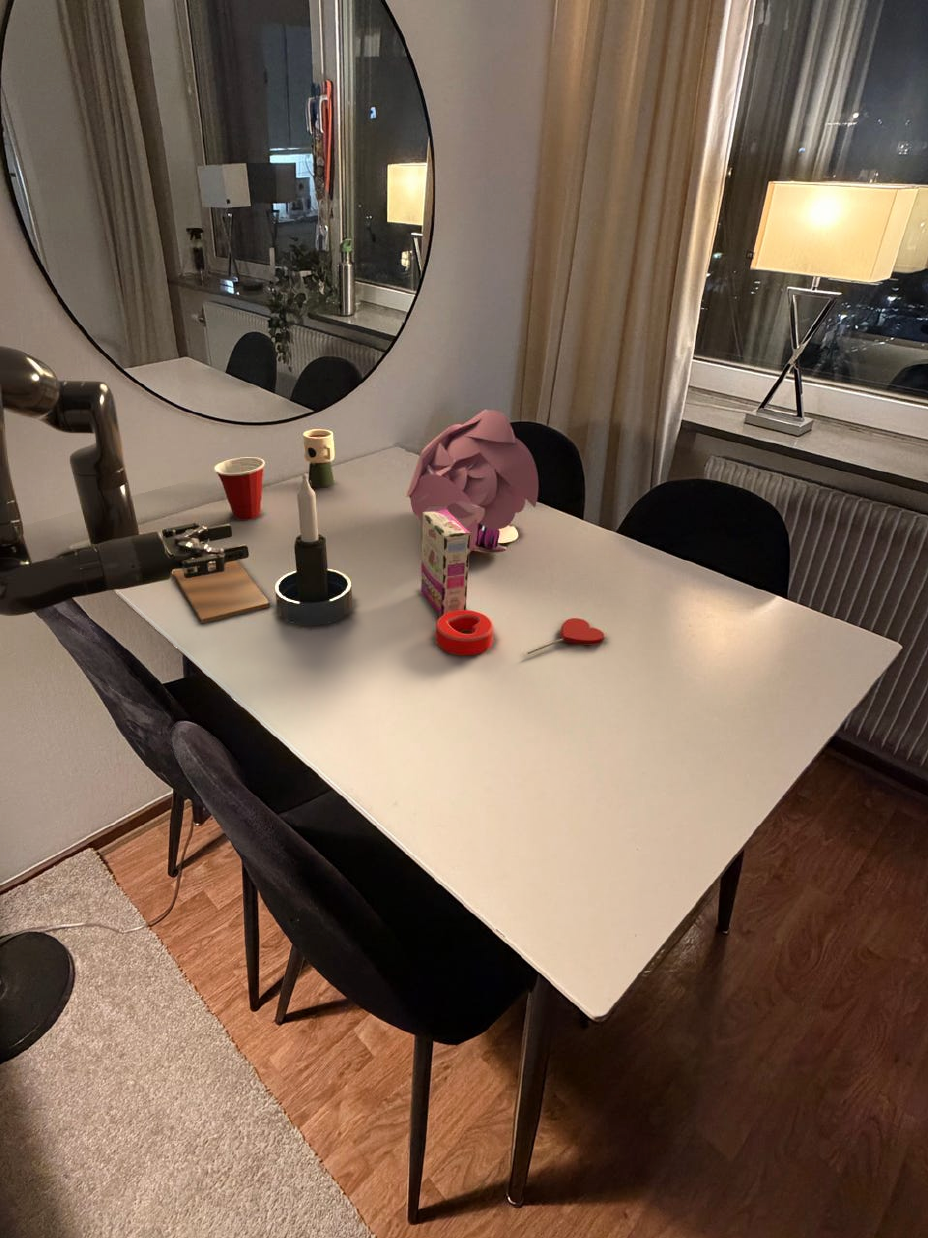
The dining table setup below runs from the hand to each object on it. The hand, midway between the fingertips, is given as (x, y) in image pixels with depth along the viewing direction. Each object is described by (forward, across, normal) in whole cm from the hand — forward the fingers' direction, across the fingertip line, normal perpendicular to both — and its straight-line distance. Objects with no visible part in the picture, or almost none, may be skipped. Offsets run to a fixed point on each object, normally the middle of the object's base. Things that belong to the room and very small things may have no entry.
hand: (239, 539), depth 119 cm
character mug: (+36, +54, +16) cm, 67 cm away
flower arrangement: (+54, +13, +16) cm, 58 cm away
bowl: (+12, 0, +16) cm, 20 cm away
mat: (-1, +14, +16) cm, 21 cm away
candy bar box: (+33, -10, +16) cm, 38 cm away
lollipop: (+44, -31, +16) cm, 56 cm away
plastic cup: (+14, +45, +16) cm, 50 cm away
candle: (+12, 0, +16) cm, 20 cm away
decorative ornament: (+30, -22, +16) cm, 40 cm away
